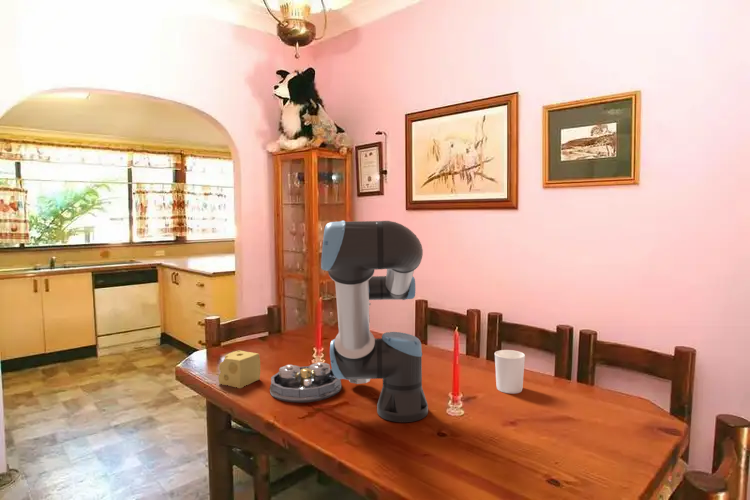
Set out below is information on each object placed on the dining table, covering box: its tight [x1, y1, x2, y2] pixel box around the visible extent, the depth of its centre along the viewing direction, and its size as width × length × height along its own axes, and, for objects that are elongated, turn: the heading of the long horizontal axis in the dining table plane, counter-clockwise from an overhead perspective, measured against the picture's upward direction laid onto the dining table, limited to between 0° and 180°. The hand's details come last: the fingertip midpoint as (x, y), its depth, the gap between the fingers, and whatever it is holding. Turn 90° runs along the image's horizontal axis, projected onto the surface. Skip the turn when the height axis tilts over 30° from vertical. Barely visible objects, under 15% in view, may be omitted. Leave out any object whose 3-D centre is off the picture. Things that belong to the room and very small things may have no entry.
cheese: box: [217, 349, 261, 389], centre depth 166 cm, size 10×11×10 cm
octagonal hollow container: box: [348, 379, 371, 385], centre depth 160 cm, size 7×7×6 cm
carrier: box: [269, 361, 342, 404], centre depth 159 cm, size 24×24×8 cm
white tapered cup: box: [494, 349, 526, 394], centre depth 156 cm, size 10×10×12 cm
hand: (359, 379), depth 160 cm, fingers closed on octagonal hollow container, 7 cm apart
